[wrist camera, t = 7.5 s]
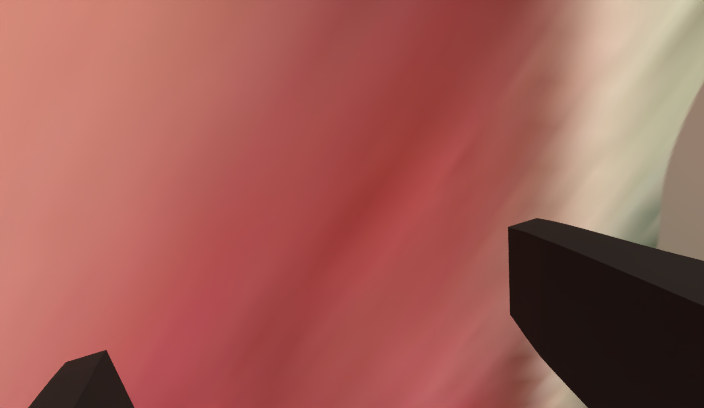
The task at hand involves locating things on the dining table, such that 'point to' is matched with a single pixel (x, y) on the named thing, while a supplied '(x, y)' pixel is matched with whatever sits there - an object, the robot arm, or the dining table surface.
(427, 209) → the dining table surface
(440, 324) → the dining table surface
